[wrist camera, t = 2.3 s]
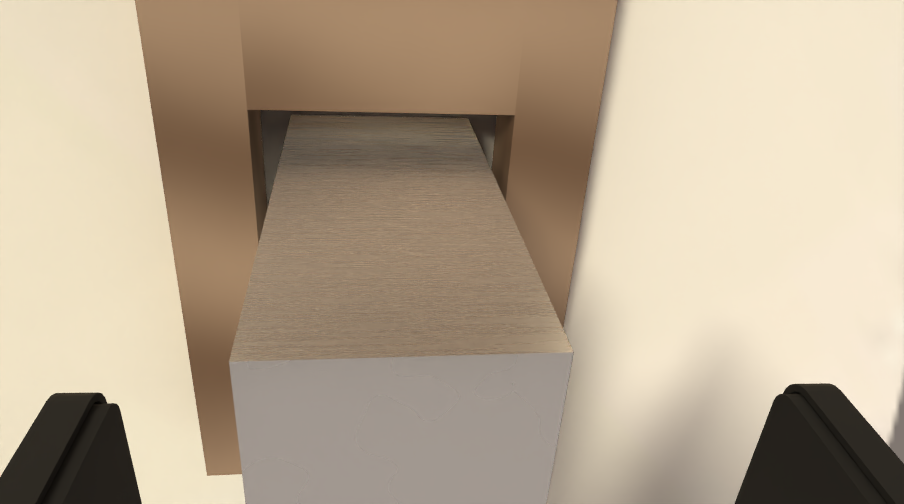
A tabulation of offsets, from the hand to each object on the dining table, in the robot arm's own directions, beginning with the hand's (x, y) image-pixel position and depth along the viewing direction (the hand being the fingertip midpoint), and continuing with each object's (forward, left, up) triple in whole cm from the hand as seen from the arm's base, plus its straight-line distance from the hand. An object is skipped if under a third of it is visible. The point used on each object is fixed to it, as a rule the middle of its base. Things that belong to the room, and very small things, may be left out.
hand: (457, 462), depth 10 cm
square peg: (0, +1, -10) cm, 10 cm away
